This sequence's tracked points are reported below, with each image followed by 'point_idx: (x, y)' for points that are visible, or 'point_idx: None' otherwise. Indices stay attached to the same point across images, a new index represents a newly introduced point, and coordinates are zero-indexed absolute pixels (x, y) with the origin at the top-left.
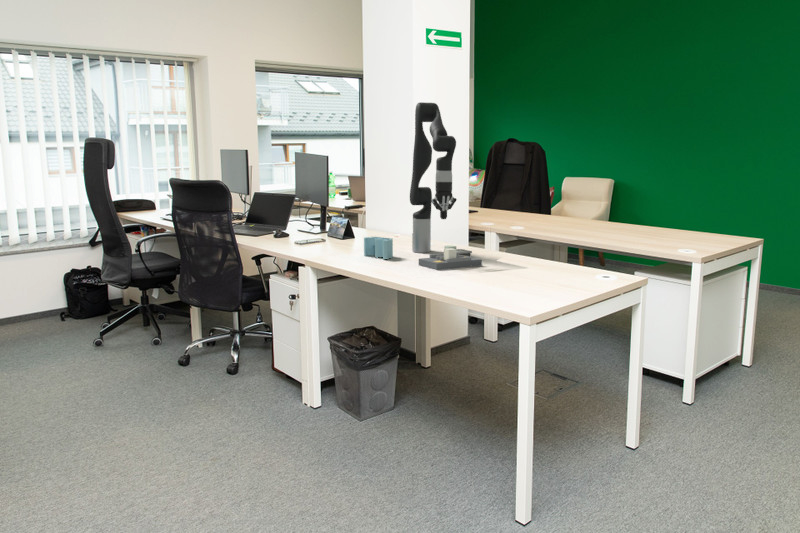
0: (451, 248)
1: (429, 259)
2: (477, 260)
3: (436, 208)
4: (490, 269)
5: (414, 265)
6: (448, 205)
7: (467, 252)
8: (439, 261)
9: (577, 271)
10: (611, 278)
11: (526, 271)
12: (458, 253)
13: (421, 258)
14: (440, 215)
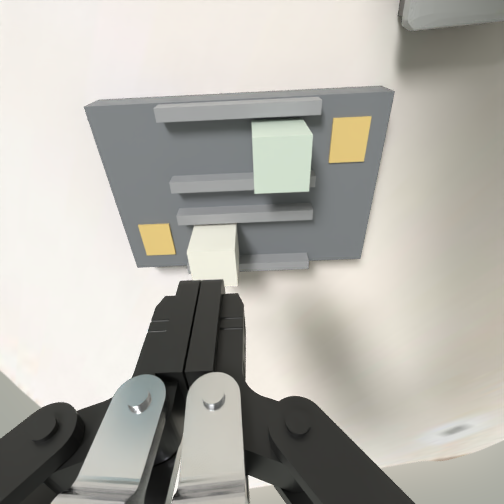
0: (230, 256)
1: (138, 163)
2: (336, 258)
3: (25, 432)
4: (325, 303)
5: (75, 97)
6: (326, 492)
7: (493, 21)
8: (161, 244)
9: (482, 388)
10: (445, 438)
11: (384, 354)
12: (411, 30)
13: (102, 108)
14: (153, 326)
